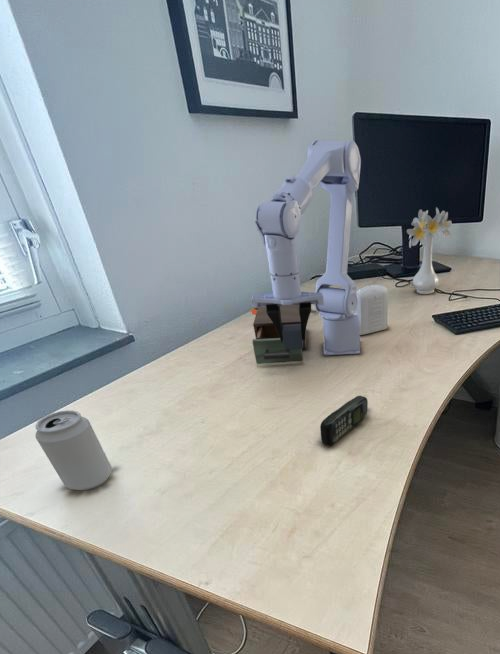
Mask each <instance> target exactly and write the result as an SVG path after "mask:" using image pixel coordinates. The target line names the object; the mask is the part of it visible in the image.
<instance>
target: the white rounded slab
mask: <svg viewBox="0 0 500 654" xmlns="http://www.w3.org/2000/svg"><path fill="white" fill-rule="evenodd" d="M357 300H358V302H357V308H356V311H355V313H354V315H358V319H359V336H365V335H368V334H371V333H375V332H381V331H383V330H387V329H388V314H389V313H388V311H389V309H388V308H389V307H388V305H389V293H388V289H387V287H386V286H383V285H379V284H371V285H367V286H364V287H361V288H360V289H357Z"/></svg>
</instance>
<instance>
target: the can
mask: <svg viewBox="0 0 500 654" xmlns="http://www.w3.org/2000/svg"><path fill="white" fill-rule="evenodd" d="M34 428H35V430H36V432H35V439H36V440H37V443H38V444H39V446H40V447H41V449H42V451H43V453H44V454H45V456H46V457H47V459H48V461H49V463H50V464H51V466H52V467H53V469H54V470H55V472H56V474H57V476H58V477H59V480H61V483H62V484H63V485H64V486H65V488H68V489H69V490H70V489H71V490H76V491H88V490H93V489H95V488H98V487H99V486H101V485H103V484H104V483H105V482H106V481H107V480H108V479H109V477H110V475H111V474H112V472H113V467H112V465H111V463H110V461H109V459H108V457H107V454H106V452H105V451H104V448H103V447H102V444H101V442H100V440H99V439H98V437H97V433H95V431H94V428H93V426H92V424H91V422H90V420H89V419H88V418H86V417H85V416H82V414H81V413H80V412H79V411H76V410H70V409H69V410H68V409H67V410H60V411H56V412H52V413H50V414H49V413H48V414H47V415H45V416H43V417H41V418H40V419H39V420H38V421H37V422H36V424H35V427H34Z"/></svg>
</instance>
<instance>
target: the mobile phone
mask: <svg viewBox="0 0 500 654" xmlns="http://www.w3.org/2000/svg"><path fill="white" fill-rule="evenodd" d="M368 402H369V401H368V398H367V397H365V396H364V395H356V396H355V397H354V398H351V399H350V400H348V401H347V402H345V403H344V404H343V405H341V406H340V407H339V408H337V409H336V410H334V411H333V412H332V413H330V414H329V415H328V416H327V417H325V418H324V419H323V420H322V421H321V423H320V427H319V428H320V440H321V442H322V444H323V445H325V446H327V447H331V446H333V445H334V444H335V443H336V442H337V441H338V440H340V439H341V438H342V437H343V436H344V435H346V434H348V433H349V432H350V431H352V430H353V429H354V428H356V427H357V426H358V425H360V424H361V423H362V421H363V420H364V419H365V417H366V416H367V414H368V404H369V403H368Z"/></svg>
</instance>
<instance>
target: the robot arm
mask: <svg viewBox="0 0 500 654" xmlns="http://www.w3.org/2000/svg"><path fill="white" fill-rule="evenodd" d="M361 164H362V159H361V154H360V150H359V146H358V145H357V143H356V142H355V141H354V140H353V139H350V140H325V141H324V140H322V141H321V140H317V139H316V140H313V141H312V142H311V144H310V145H309V146H308V147H307V159H306V161H305V162H304V164H303V166H302V167H301V169H300V171H299V172H298V174H297V175H296V174H293V175H291V174H288V175H286V177H285V178H284V182H283V184H282V185H281V186H280V187H279V189H277V191H276V192H275V193H274V194H273V196H272V198H271V199H270V200H264V201H262V202H261V203H260V204H259V205H258V207H257V209H256V212H255V220H254V223H255V226H256V229H257V231H258V233H259V235H260V237H261V242H262V245H263V247H265V248H266V249H265V251H266V256H267V262H268V269H269V277H270V283H271V288H272V293H264V294H259V295H257V294H256V295H251V299H250V300H251V305H252V308H258V307H266V312H267V315H268V316H269V318H270V319H271V321H272V322H273V324H274V325H275V327H276V329H277V331H278V334H279V336H280V340H281V342H282V341H283V335H282V328H283V326H282V321H281V313H280V306H287V305H299V313H300V320H301V333H302V340H305V332H306V331H307V325H308V322H309V319H310V315H311V313H312V311H311V310H312V305H313V306H314V309H315V311H316V312H317V313H319V317H321V319H322V329H323V330H322V331H323V341H324V342H322V347H323V356H337V355H338V356H339V355H340V356H341V355H357V354H361V346H360V345H361V335H359V319H358V315H354V313H355V311H356V308H357V302H358V300H357V291H358V289H357V284H356V282H355V281H354V280H353V279H352V278H351V277H350V275H349V274H348V265H349V253H350V241H351V240H350V239H351V227H352V214H353V213H352V212H353V204H354V203H353V201H354V193H355V192H357V191H358V190H359V184H360V177H361V176H360V175H361V166H362V165H361ZM318 185H320V187H321V189H323V190H325V191H326V192H328V194H329V197H330V203H329V204H330V205H329V219H328V220H329V221H328V234H327V235H328V237H327V250H326V251H327V252H326V267H325V269H326V270H325V273H324V274H322V276H320V277H319V278H318V279H317V280H316V284H315V285H316V286H315V291H313V292H311V291H302V287H301V279H300V270H299V260H298V251H297V250H298V249H297V242H296V236H298V234H299V232H300V228H301V222H302V218H303V214H304V213H305V212H306V210H307V209H308V208H309V206H310V205H311V203H312V201H313V190H314V189H315V188H317V186H318ZM332 286H337V287H332ZM341 287H342V288H341Z"/></svg>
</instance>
